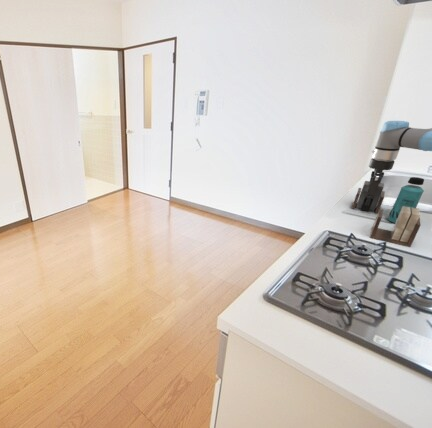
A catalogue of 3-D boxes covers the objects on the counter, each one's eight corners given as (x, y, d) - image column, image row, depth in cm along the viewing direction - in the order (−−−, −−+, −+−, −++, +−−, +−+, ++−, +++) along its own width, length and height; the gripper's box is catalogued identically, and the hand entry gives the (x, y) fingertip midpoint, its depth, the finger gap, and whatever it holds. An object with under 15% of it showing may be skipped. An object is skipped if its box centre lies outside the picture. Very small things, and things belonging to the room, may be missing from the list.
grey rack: (377, 209, 128) (388, 182, 123) (376, 216, 122) (387, 188, 117) (352, 205, 134) (361, 179, 128) (350, 211, 128) (359, 184, 122)
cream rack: (409, 237, 106) (422, 208, 101) (410, 247, 100) (424, 217, 95) (371, 229, 113) (382, 201, 108) (370, 237, 107) (381, 209, 102)
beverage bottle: (383, 219, 119) (402, 174, 111) (404, 222, 116) (424, 176, 108) (389, 226, 114) (409, 179, 106) (411, 229, 111) (433, 181, 103)
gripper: (372, 153, 127) (356, 199, 137) (369, 163, 113) (352, 213, 123) (395, 155, 122) (377, 202, 132) (395, 166, 109) (374, 218, 118)
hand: (365, 208), depth 127 cm, fingers closed on cream book, grey rack, 8 cm apart
